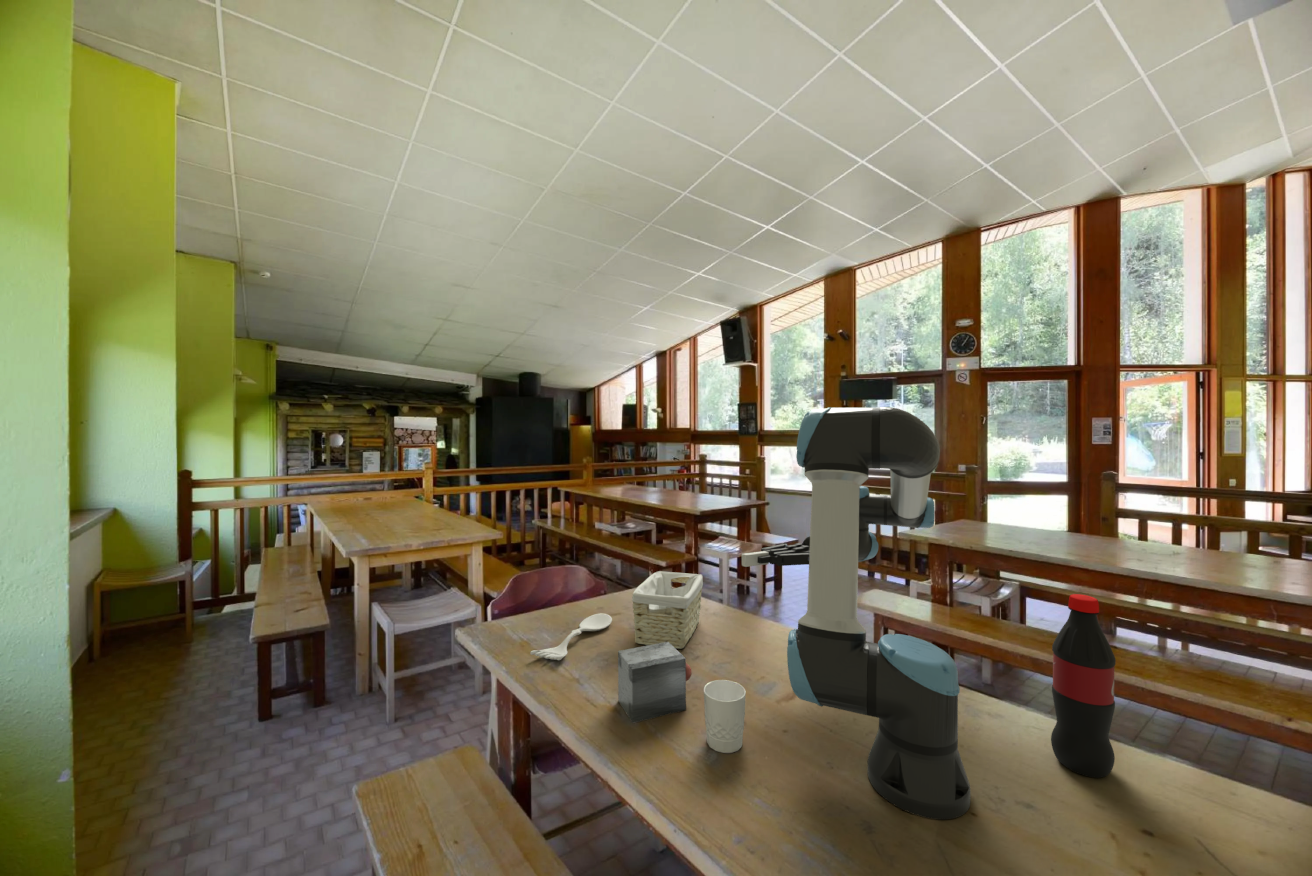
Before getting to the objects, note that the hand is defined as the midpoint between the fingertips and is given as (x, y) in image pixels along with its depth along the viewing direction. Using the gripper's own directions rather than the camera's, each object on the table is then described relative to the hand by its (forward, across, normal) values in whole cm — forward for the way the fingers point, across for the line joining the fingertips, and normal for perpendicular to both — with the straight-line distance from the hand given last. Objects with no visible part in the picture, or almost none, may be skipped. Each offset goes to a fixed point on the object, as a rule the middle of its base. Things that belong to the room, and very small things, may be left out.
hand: (743, 560), depth 116 cm
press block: (+23, 0, -29) cm, 37 cm away
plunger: (+20, 0, -25) cm, 32 cm away
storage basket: (+3, +34, -29) cm, 45 cm away
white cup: (+15, -17, -29) cm, 37 cm away
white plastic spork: (+29, +39, -29) cm, 57 cm away
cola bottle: (-39, -48, -29) cm, 68 cm away
